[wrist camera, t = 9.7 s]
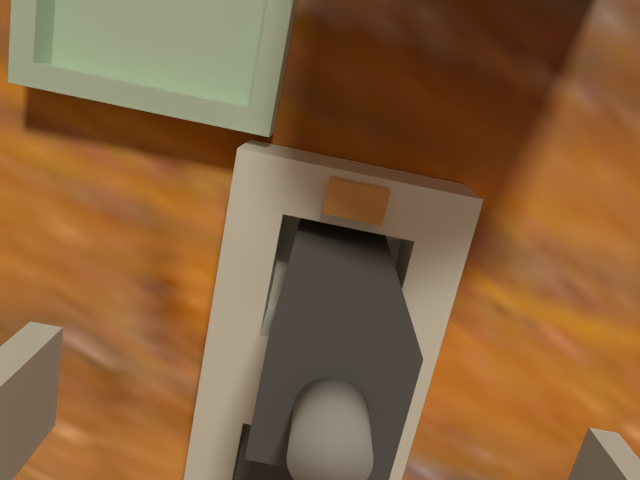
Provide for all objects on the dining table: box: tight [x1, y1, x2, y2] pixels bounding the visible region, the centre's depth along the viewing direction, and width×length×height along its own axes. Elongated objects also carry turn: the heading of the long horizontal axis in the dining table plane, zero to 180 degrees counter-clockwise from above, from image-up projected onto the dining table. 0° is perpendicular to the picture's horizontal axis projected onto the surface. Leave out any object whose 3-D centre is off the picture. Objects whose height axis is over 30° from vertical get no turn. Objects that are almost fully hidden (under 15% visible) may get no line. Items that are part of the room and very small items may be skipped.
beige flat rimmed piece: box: [184, 140, 483, 480], centre depth 26 cm, size 10×20×4 cm, turn 168°
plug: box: [245, 218, 423, 480], centre depth 20 cm, size 4×4×14 cm
